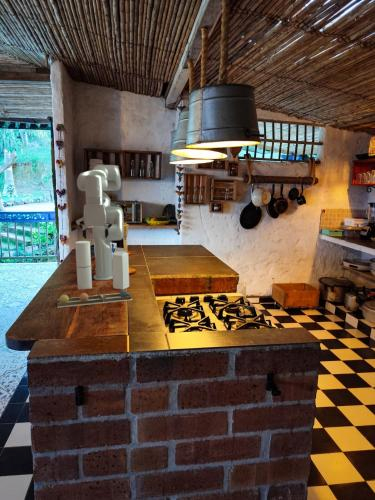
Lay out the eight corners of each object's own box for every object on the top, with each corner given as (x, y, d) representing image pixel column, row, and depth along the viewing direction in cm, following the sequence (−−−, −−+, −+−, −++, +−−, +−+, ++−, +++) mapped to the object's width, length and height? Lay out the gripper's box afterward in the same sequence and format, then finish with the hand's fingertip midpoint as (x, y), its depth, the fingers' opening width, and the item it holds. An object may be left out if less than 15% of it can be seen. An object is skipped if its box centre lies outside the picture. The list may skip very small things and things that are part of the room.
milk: (119, 287, 187) (118, 246, 183) (129, 288, 185) (128, 247, 181) (113, 290, 182) (111, 248, 178) (123, 291, 180) (122, 249, 176)
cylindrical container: (77, 291, 179) (74, 243, 174) (78, 287, 186) (75, 241, 181) (92, 290, 181) (89, 242, 176) (92, 286, 188) (89, 240, 183)
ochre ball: (59, 302, 159) (59, 294, 159) (69, 301, 161) (68, 293, 160) (59, 305, 156) (59, 296, 155) (69, 304, 157) (68, 295, 156)
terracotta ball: (79, 300, 162) (78, 292, 161) (88, 299, 163) (87, 291, 163) (79, 303, 158) (79, 294, 158) (88, 302, 160) (88, 294, 159)
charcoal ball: (118, 296, 168) (118, 288, 167) (127, 296, 169) (127, 288, 168) (120, 299, 164) (119, 291, 163) (128, 298, 165) (128, 290, 165)
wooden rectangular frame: (103, 297, 167) (103, 295, 166) (129, 295, 171) (129, 292, 170) (104, 301, 161) (104, 299, 161) (131, 299, 165) (131, 296, 164)
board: (57, 301, 164) (57, 298, 164) (128, 294, 175) (128, 291, 175) (57, 310, 153) (57, 306, 153) (132, 302, 164) (132, 298, 163)
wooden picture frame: (57, 301, 160) (57, 299, 160) (101, 297, 166) (101, 295, 166) (57, 306, 154) (57, 303, 154) (103, 301, 161) (103, 299, 160)
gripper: (111, 201, 171) (113, 236, 173) (74, 201, 165) (76, 238, 167) (114, 201, 164) (115, 238, 166) (75, 201, 158) (77, 239, 160)
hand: (95, 238), depth 167 cm, fingers open, 9 cm apart
